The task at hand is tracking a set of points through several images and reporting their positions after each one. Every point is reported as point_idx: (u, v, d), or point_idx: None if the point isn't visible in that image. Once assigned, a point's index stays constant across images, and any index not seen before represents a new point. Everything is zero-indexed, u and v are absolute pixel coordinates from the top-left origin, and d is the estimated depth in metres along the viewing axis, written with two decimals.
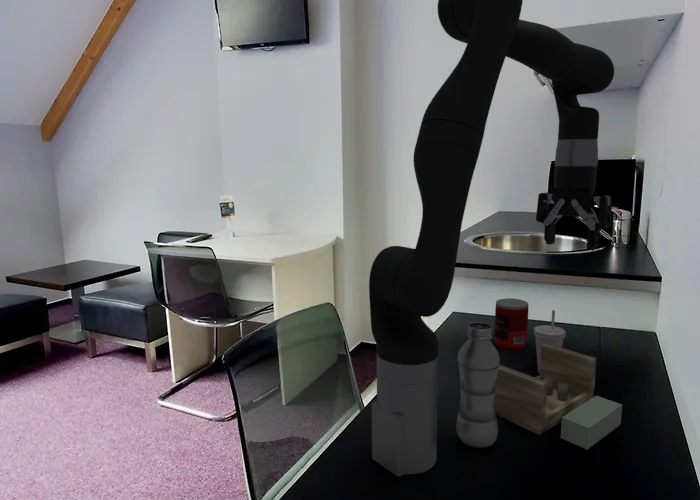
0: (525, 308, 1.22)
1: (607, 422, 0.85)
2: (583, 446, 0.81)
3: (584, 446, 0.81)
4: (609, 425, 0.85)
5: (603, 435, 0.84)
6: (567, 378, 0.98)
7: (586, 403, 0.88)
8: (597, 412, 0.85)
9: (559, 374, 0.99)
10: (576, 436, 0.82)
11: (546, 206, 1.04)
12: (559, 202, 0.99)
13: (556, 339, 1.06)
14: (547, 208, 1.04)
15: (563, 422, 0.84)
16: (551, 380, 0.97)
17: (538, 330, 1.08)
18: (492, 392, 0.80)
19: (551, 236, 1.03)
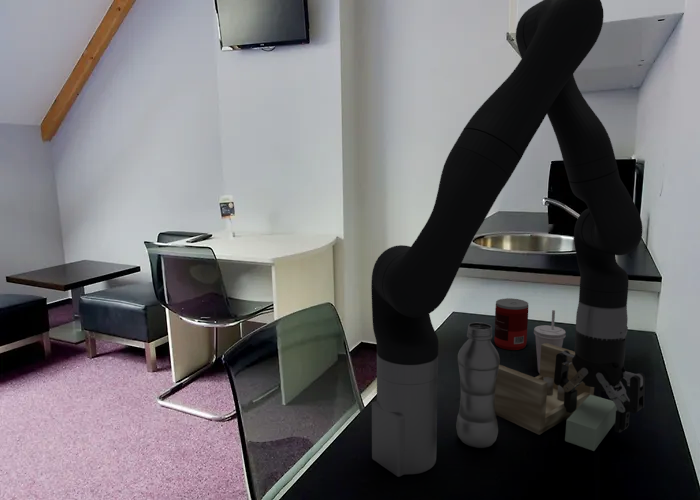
0: (525, 308, 1.22)
1: (607, 421, 0.85)
2: (589, 448, 0.81)
3: (590, 447, 0.81)
4: (608, 424, 0.86)
5: (604, 434, 0.84)
6: None
7: (584, 403, 0.88)
8: (597, 412, 0.85)
9: None
10: (582, 438, 0.81)
11: (565, 367, 0.89)
12: (581, 371, 0.85)
13: (556, 339, 1.06)
14: (567, 369, 0.90)
15: (568, 425, 0.83)
16: (551, 380, 0.97)
17: (538, 330, 1.08)
18: (492, 392, 0.80)
19: (572, 403, 0.89)
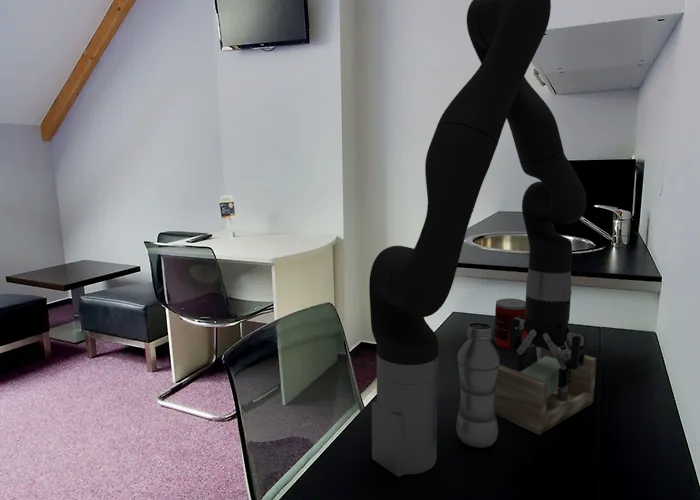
0: None
1: (556, 378, 0.92)
2: None
3: None
4: None
5: (553, 389, 0.92)
6: None
7: (537, 362, 0.96)
8: (547, 369, 0.93)
9: None
10: None
11: (519, 332, 0.97)
12: (531, 333, 0.92)
13: None
14: (520, 333, 0.97)
15: None
16: None
17: None
18: (492, 392, 0.80)
19: (525, 365, 0.96)
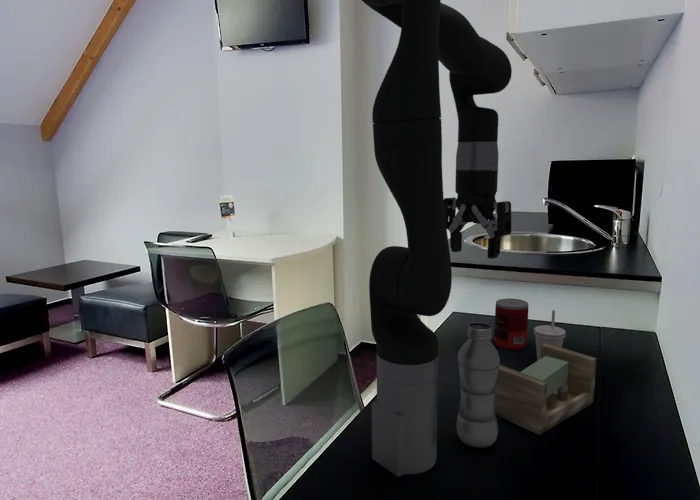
0: (525, 308, 1.22)
1: (556, 378, 0.92)
2: None
3: None
4: (558, 380, 0.93)
5: (553, 389, 0.92)
6: None
7: (537, 362, 0.96)
8: (547, 369, 0.93)
9: None
10: None
11: (452, 212, 0.99)
12: (461, 208, 0.94)
13: (556, 339, 1.06)
14: (453, 214, 0.99)
15: None
16: None
17: (538, 330, 1.08)
18: (492, 392, 0.80)
19: (457, 243, 0.98)
